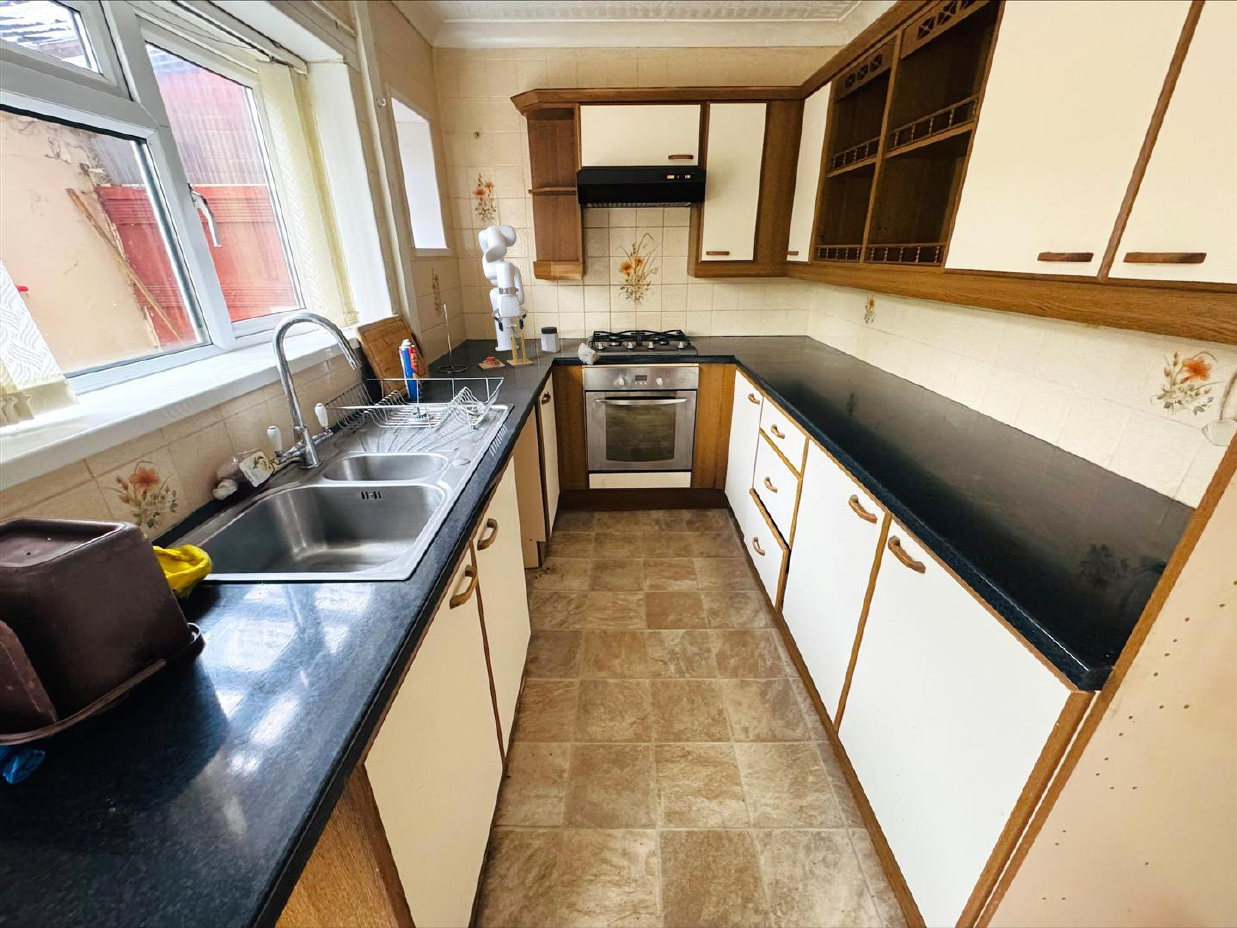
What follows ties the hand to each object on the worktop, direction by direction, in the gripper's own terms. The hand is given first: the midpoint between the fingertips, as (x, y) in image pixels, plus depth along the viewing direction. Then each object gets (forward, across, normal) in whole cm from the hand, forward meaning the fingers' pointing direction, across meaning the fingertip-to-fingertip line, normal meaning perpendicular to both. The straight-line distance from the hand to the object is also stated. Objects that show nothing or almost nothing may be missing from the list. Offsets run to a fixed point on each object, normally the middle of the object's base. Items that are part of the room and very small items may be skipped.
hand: (511, 330), depth 239 cm
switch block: (+15, +13, +8) cm, 21 cm away
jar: (+15, -22, -12) cm, 29 cm away
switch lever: (+2, 0, +4) cm, 5 cm away
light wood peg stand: (+15, 0, +9) cm, 17 cm away
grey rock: (+15, -29, +28) cm, 43 cm away
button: (+12, +13, +8) cm, 19 cm away
